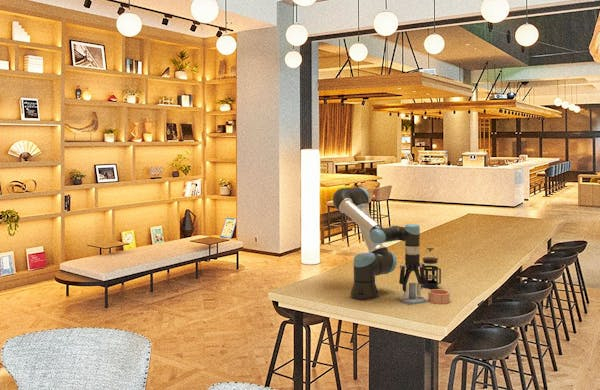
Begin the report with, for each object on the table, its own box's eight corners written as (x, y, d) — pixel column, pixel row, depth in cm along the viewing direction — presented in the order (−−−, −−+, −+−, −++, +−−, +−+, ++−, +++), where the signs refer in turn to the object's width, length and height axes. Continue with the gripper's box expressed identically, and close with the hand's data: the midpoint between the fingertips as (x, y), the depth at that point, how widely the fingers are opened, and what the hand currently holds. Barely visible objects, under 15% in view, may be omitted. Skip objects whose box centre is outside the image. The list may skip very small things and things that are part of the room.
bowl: (425, 300, 297) (425, 290, 296) (441, 298, 300) (441, 288, 300) (436, 305, 287) (436, 295, 287) (453, 303, 291) (453, 293, 290)
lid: (395, 298, 300) (395, 281, 299) (415, 295, 304) (416, 279, 303) (408, 304, 288) (408, 287, 287) (429, 301, 292) (429, 284, 292)
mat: (393, 299, 300) (393, 298, 300) (416, 296, 305) (416, 295, 305) (407, 306, 287) (407, 305, 287) (431, 302, 292) (431, 302, 292)
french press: (417, 287, 323) (417, 248, 321) (425, 284, 331) (425, 246, 329) (436, 290, 316) (437, 250, 314) (443, 287, 323) (444, 248, 321)
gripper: (399, 256, 287) (399, 300, 289) (432, 253, 294) (432, 295, 296) (392, 253, 294) (392, 296, 296) (424, 250, 301) (424, 292, 303)
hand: (412, 296), depth 296 cm, fingers open, 7 cm apart
